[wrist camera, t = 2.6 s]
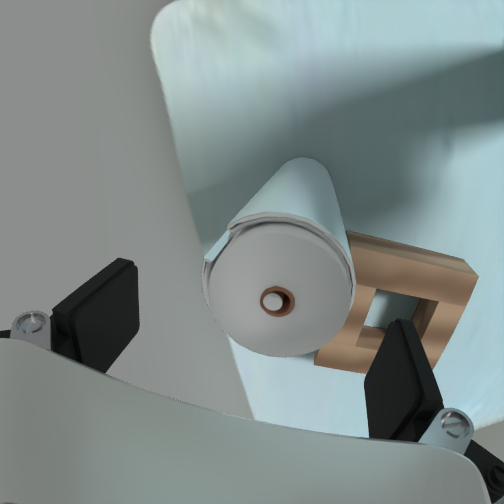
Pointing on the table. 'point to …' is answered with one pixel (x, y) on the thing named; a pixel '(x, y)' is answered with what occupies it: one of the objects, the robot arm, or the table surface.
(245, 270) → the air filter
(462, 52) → the table surface
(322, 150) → the table surface
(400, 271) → the socket block
